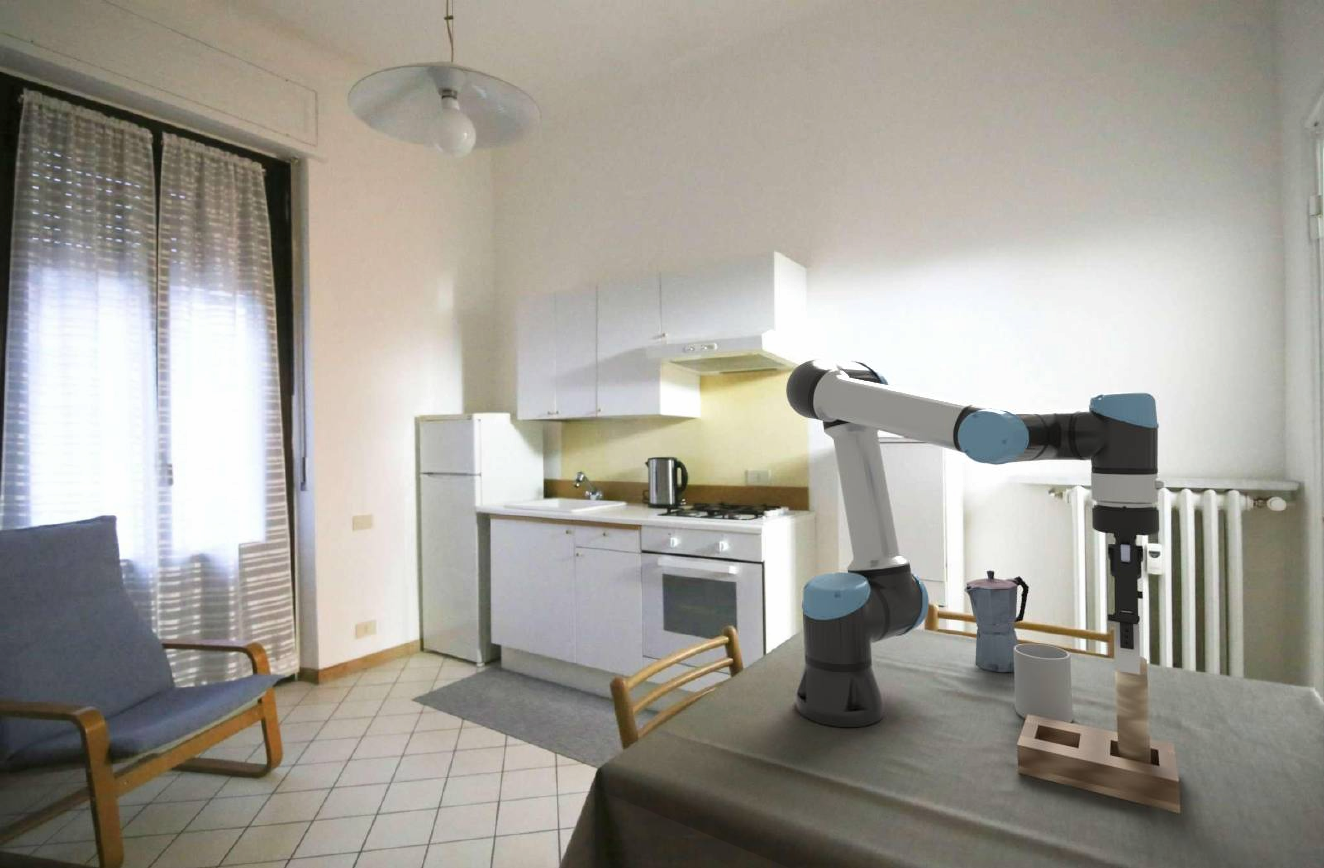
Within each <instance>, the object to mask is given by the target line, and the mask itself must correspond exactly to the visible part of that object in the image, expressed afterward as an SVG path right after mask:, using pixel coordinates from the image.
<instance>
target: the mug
mask: <svg viewBox="0 0 1324 868" xmlns="http://www.w3.org/2000/svg"><path fill="white" fill-rule="evenodd" d="M1071 663H1072V661H1071V655H1070V653H1069V652H1068V651H1067V650H1064V649H1062V648H1059V647H1057V646H1053V645H1048V644H1040V643H1021V644H1019V645H1017V646H1015V647H1014V672H1013V673H1014V707H1015V711H1016V713H1017V715H1019V716H1020V717H1021V718H1023V719H1025V720H1026V718H1027V715H1028V714H1029V715H1034V716H1038V717H1043V718H1048V719H1053V720H1058V721H1063V722H1068V723H1072V722H1073V720H1074V711H1073V694H1072V693H1073V692H1072V687H1073V686H1072V666H1071V665H1072V664H1071Z"/></svg>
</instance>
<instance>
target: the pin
mask: <svg viewBox="0 0 1324 868" xmlns="http://www.w3.org/2000/svg"><path fill="white" fill-rule="evenodd" d="M1114 678H1115V699H1116V701H1115V703H1116V706H1115V707H1116V727H1117V728H1116V729H1117V731H1116V732H1118V757H1120V758H1124V759H1129V760H1133V761H1138V762H1142V763H1147V764H1151V752H1150V739H1151V733H1150V732H1151V731H1150V709H1149V708H1150V706H1149V682H1148V681H1149V680H1148V678H1149V677H1148V659H1147V658H1145V657H1143V656H1140V675H1139V674H1133V673H1127V672H1121V671H1115V670H1114Z"/></svg>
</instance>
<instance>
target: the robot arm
mask: <svg viewBox="0 0 1324 868" xmlns="http://www.w3.org/2000/svg"><path fill="white" fill-rule="evenodd" d="M785 390H786V393H785V394H786V398H787V401H788V403H789V406H790V407H791V408H792V409H793V410H794V411H795V413H796V414H798V415H800V416H802V417H804V418H807V419H811V420H813V419H814V420H818V421H821V422H822V426H823V432H824V433H825V434H826V435H827V436H829V437H830V438H831V439H832V440H833V444H834V450H835V455H836V456H835V457H836V462H837V467H838V469H837V470H838V475H839V480H840V486H841V492H842V498H843V504H844V510H845V516H846V523H847V527H848V533H849V540H850V545H851V549H852V550H851V552H852V557H853V558H852V560H851V562H850V563H849V565H847V568H846V569H847V572H845V571H844V572H835V573H824V574H821V575H820V574H819V575H817V576H815V577H813V578H811V579H809V580H808V581H807V582H806V583H805V584H804V587H803V591H802V602H801V603H802V604H801V609H802V622H803V623H802V625H803V627H802V628H803V644H804V645H803V646H804V647H803V648H804V649H803V650H804V667H803V670H802V673H801V677H800V678H799V683H798V686H797V689H796V692H795V693H796V694H795V700H796V701H795V703H796V706H795V707H796V710H797V711H798V713H800V715H802V716H803V717H805V718H806V719H808V720H810V721H812V722H815V723H819V724H822V725H825V726H831V727H839V728H860V727H861V728H862V727H867V726H870V725H873V724H876V723H878V722H879V721H881V720H882V719H883V718H884V715H885V706H884V705H885V704H884V698H883V696H882V692H881V690H880V687H879V685H878V681H877V679H876V675H875V672H874V670H873V663H872V660H873V659H872V644H873V643H876V642H880V641H883V640H887V639H890V638H893V637H901V636H903V635H906V634H908V633H909V632H910V631H913V630H915V629H917V628H918V627H919V626H921V624H922V623H923V622H924V620H925V619H926V617H927V614H928V611H929V607H930V606H929V605H930V603H929V600H930V599H929V594H928V590H927V587H926V586H925V584H924V582H923V581H922V580H920V579H919V577H918V575H916V574H915V573H914V572H912V569H911V565H910V561H909V560H908V559H906V558H905V557H904V556H902V554H901V553H900V551H899V544H898V540H897V534H896V533H897V532H896V528H895V523H894V522H895V521H894V517H893V512H892V507H891V506H892V505H891V501H890V496H889V495H890V494H889V490H888V484H887V477H886V472H885V466H884V461H883V455H882V450H881V444H880V440H879V439H880V438H879V431H880V432H881V431H882V432H885V433H889V434H893V435H896V436H900V437H904V438H907V439H911V440H914V441H919V442H922V443H927V444H931V445H934V446H937V447H940V448H945V449H948V450H952V451H956V452H959V453H961V454H962V453H964V455H966V457H968V458H969V459H970V460H972V461H974V462H977V463H980V464H988V465H994V466H996V465H998V466H999V465H1004V464H1005V465H1006V464H1008V463H1009V464H1010V463H1019V462H1035V461H1048V460H1049V461H1058V460H1059V461H1090V463H1091V470H1090V471H1091V472H1090V491H1091V493H1090V494H1091V495H1090V496H1091V497H1090V498H1091V500H1093V501H1095V502H1096V503H1094V504H1093V506H1092V507H1091V519H1092V522H1091V525H1092V529H1093V530H1094V531H1097V532H1099V533H1104V534H1113V538H1114V543H1113V542H1112V543H1111V542H1108V545H1107V558H1108V560H1109V571H1110V575H1111V576H1112V577H1113V579H1114V582H1113V583H1114V590H1113V591H1114V594H1113V595H1114V612H1113V614H1110V613H1108V614H1107V621H1108V622H1113V660H1114V661H1113V662H1114V663H1113V665H1114V667H1113V668H1114V672H1115V671H1121V672H1127V673H1133V674H1139V675H1140V657H1141V648H1140V647H1141V642H1140V641H1141V637H1140V635H1141V634H1140V633H1141V632H1140V621H1141V617H1140V616H1139V599H1141V600H1143V599H1144V596H1143V595H1144V594H1143V593H1144V592H1143V591H1142V590H1140V591H1139V590H1138V588H1139V587H1138V581H1139V580H1140V579H1141V578H1142V571H1143V570H1142V563H1143V561H1144V548H1143V547H1144V545H1141V544H1140V545H1139V544H1136V540H1137V538H1138V537H1137V536H1153V535H1157V534H1158V533H1159V531H1160V509H1159V508H1158V507H1157V506H1155V505H1153V504H1156V503H1157V502H1159V490H1158V489H1159V488H1160V489H1161V488H1164V487H1165V482H1164V481H1163V480H1157V479H1158V478H1159V476H1158V473H1159V469H1158V467H1159V466H1158V465H1159V464H1158V461H1159V459H1158V458H1159V457H1158V455H1159V453H1158V450H1159V445H1158V444H1159V442H1158V441H1159V438H1158V437H1159V436H1158V435H1159V423H1158V416H1157V415H1158V414H1157V402H1156V398H1155V397H1154V396H1153V395H1152V394H1150V393H1147V392H1114V393H1113V392H1112V393H1099V394H1094V395H1093V396H1092V397H1091V398H1090V400H1089V405H1088V407H1086V408H1080V409H1079V408H1078V409H1046V410H1045V409H1043V410H1042V409H1040V410H1039V409H1009V408H1008V409H1006V408H1000V407H995V406H991V405H985V404H979V403H974V402H971V401H964V400H960V399H959V400H958V399H954V398H948V397H944V396H940V395H935V394H929V393H925V392H919V391H916V390H911V389H905V388H901V387H896V386H890V384H889V382H888V380H887V378H886V376H885V375H884V373H883V372H881V370H879V369H878V368H877V367H875V366H873V365H871V364H868V363H863V362H861V361H856V360H855V361H853V360H851V361H843V360H827V359H812V360H808V361H805V362H803V363H801V364H799V365H798V366H797V367H796V368H795V369H793V371H792V372H791V373H790V375H789V377H788V379H787V383H786V387H785ZM1156 488H1157V489H1156Z"/></svg>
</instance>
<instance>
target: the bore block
mask: <svg viewBox="0 0 1324 868" xmlns="http://www.w3.org/2000/svg"><path fill="white" fill-rule="evenodd" d="M1016 750H1017V751H1016V752H1017V753H1016V754H1017V756H1016V757H1017V773H1018V774H1023V775H1026V776H1030V777H1035V778H1038V779H1041V780H1046V781H1051V782H1055V783H1057V784H1060V785H1061V784H1062V785H1066V786H1069V787H1074V788H1076V789H1077V788H1078V789H1081V790H1085V791H1089V792H1093V793H1097V794H1102V795H1106V796H1110V797H1113V798H1118V799H1122V800H1124V801H1125V800H1126V801H1129V802H1133V803H1134V802H1135V803H1138V804H1142V805H1146V806H1149V807H1154V808H1158V809H1161V810H1166V811H1169V812H1174V813H1177V814H1181V795H1180V778H1179V771H1178V766H1177V757H1176V753H1175V752H1176V751H1175V745H1174V743H1172V742H1168V741H1167V742H1166V741H1162V740H1157V739H1152V738H1150V752H1151V764H1147V763H1142V762H1138V761H1133V760H1129V759H1124V758H1120V757H1118V732H1117V731H1113V730H1107V729H1103V728H1097V727H1093V726H1092V727H1091V726H1088V725H1087V726H1086V725H1083V724H1077V723H1072V722H1071V723H1068V722H1063V721H1058V720H1053V719H1048V718H1043V717H1038V716H1034V715H1029V714H1028V715H1027V718H1026V719H1025V721H1024V724H1023V727H1022V729H1021V732H1020V735H1019V738H1018V740H1017V744H1016Z"/></svg>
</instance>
